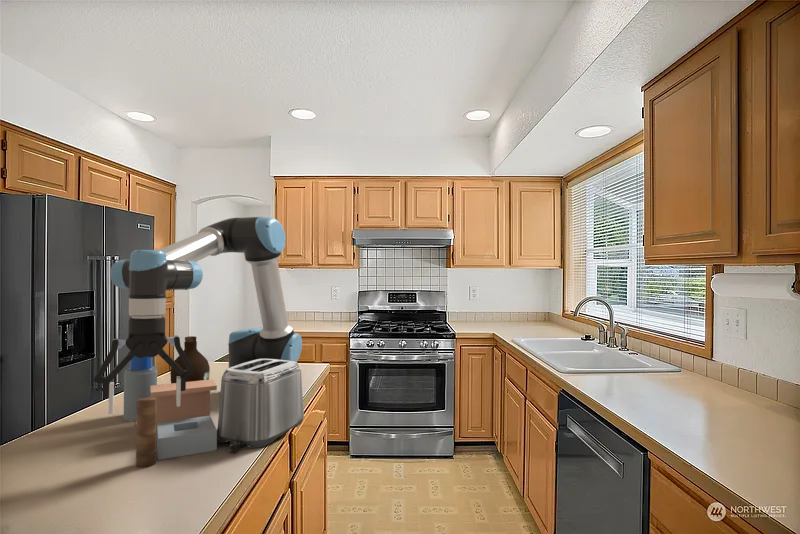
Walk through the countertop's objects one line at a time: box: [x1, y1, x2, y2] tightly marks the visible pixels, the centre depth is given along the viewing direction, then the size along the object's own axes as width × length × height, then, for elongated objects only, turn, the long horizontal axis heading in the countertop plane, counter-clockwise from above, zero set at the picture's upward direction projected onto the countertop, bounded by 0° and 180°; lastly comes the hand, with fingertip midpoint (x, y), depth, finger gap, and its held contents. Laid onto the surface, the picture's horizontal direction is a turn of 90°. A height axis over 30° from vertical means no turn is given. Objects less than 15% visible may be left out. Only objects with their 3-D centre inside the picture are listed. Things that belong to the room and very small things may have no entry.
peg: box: [135, 397, 157, 469], centre depth 108 cm, size 4×4×15 cm
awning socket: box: [150, 378, 218, 461], centre depth 123 cm, size 16×20×13 cm
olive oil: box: [170, 335, 211, 384], centre depth 139 cm, size 11×11×25 cm
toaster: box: [216, 359, 305, 454], centre depth 129 cm, size 17×30×19 cm, turn 161°
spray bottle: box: [123, 356, 158, 422], centre depth 143 cm, size 9×9×25 cm
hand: (145, 408), depth 108 cm, fingers open, 13 cm apart
